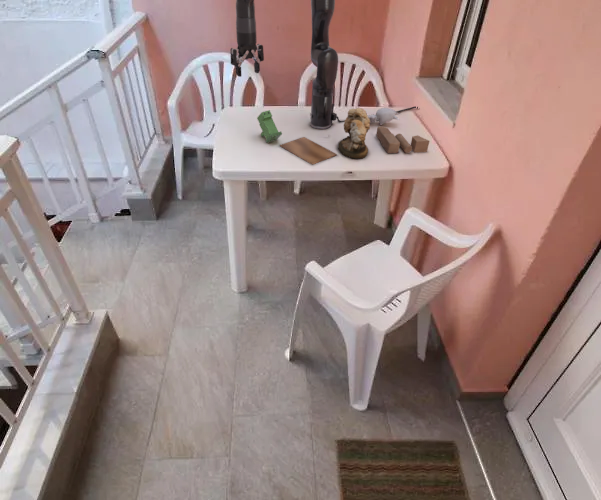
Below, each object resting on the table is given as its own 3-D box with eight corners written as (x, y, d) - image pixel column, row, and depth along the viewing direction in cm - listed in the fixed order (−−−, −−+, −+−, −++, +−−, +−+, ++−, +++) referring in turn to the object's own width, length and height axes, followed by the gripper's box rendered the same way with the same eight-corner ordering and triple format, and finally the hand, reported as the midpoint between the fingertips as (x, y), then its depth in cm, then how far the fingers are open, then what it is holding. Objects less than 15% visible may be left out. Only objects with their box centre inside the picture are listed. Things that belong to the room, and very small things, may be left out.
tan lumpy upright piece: (333, 140, 175) (336, 100, 164) (359, 139, 177) (364, 99, 166) (344, 160, 162) (348, 117, 151) (373, 158, 163) (379, 116, 153)
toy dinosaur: (256, 137, 176) (255, 110, 168) (266, 134, 178) (265, 107, 171) (272, 146, 169) (272, 118, 162) (282, 143, 172) (282, 115, 164)
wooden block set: (390, 141, 163) (377, 123, 176) (388, 155, 166) (375, 136, 180) (431, 140, 165) (414, 122, 179) (428, 153, 169) (412, 134, 182)
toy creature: (358, 109, 195) (402, 107, 191) (358, 125, 198) (401, 123, 193) (355, 109, 184) (401, 107, 179) (355, 126, 186) (401, 124, 181)
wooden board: (304, 138, 176) (304, 136, 176) (336, 155, 165) (336, 154, 164) (280, 146, 170) (280, 144, 169) (312, 164, 158) (312, 163, 158)
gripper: (236, 34, 151) (238, 80, 161) (267, 29, 158) (267, 73, 168) (224, 30, 155) (228, 75, 165) (255, 26, 162) (257, 69, 173)
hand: (248, 74), depth 167 cm, fingers open, 8 cm apart
